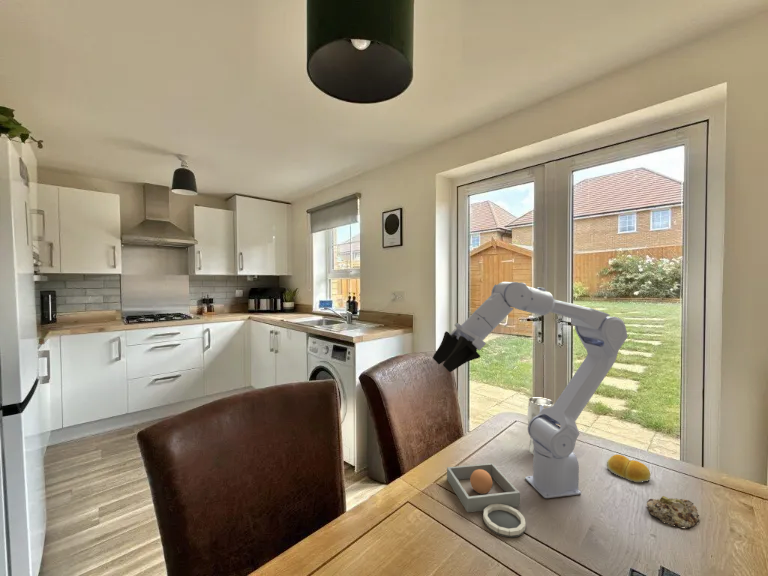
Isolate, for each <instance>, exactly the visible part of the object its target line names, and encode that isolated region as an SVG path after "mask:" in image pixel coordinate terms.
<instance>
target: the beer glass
mask: <svg viewBox="0 0 768 576" xmlns="http://www.w3.org/2000/svg"><path fill="white" fill-rule="evenodd" d="M554 404H555V402H554V401H553V400H551V399H549V398H546V397H539V396H533V397H530V398H528V406H527V425H528V424H529V422H530V420H531V419H532V418H533V417H535V416H537V415H538V414H539V413H540V412H541V410H542V409H545V408H549V407H552V406H553V405H554ZM529 440H530V441H529V445H528V446H529V447H528V452H529V454H531V455H533V451H534V444H533V439H532V438H531V437H530V436H529Z"/></svg>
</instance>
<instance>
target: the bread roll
mask: <svg viewBox="0 0 768 576" xmlns="http://www.w3.org/2000/svg"><path fill="white" fill-rule="evenodd" d="M606 468H607V470H609V471H610V472H611V473H612V474H613V473H614V475H615V474H616V475H615V476H617V475H618V477H619V476H620V478H622V477H623V479H626V480H627V479H628V481H629V480H631V481H630V482H632V481H634V482H633V483H643V482H642V481H648V480H649V481H650V480H651V476H652V475H651V474H652V473H651V471H650V469H649V467H647V465H645V464H644V463H642V462H640V461H637V460H630V459H629V458H628V457H626V456H624V455H622V454H614V455H612V456H611V457H610V458H608V460H607V461H606ZM649 481H648V482H649Z"/></svg>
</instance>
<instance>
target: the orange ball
mask: <svg viewBox="0 0 768 576" xmlns="http://www.w3.org/2000/svg"><path fill="white" fill-rule="evenodd" d="M469 480H470V481H469V482H470V485H471V487H472V489H473V490H474V491H475V492H476V493H478V494H480V495H486V494H488V493H489V492H490V491H491V490H492V489H493V477H492V476H490V474H489V473H488V472H487V471H485V470H482V469H478V470H475V471H474V472H473V473H472V474H471V477H470V478H469Z"/></svg>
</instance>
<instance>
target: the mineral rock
mask: <svg viewBox="0 0 768 576" xmlns="http://www.w3.org/2000/svg"><path fill="white" fill-rule="evenodd" d="M694 504H695V503H694V502H692V501H690V500H689V499H683V498H673V497H670V498H668V497H666V496H664V495H662V496H661V497H660V498H659V499H658V498H657V499H656V498H655V499H654V498H649V499H648V500H647V501H646V507H647V511H648V513H649V512H650V513H649V514H650V515H652V516H654V517H655V518H657V519H658V520H660V521H661V520H662V521H663V522H665V523H669V524H668V525H670V524H671V525H670V526H672V525H675V526H674V527H677V526H679V528H681V527H685V528H687V529H688V528H691V527H694V526H695V525H697V522H699V521H700V518H699V517H700V515H699V514H698V508H697V507H696V506H695V505H694ZM662 521H661V522H662ZM663 522H662V523H663ZM665 523H664V524H665ZM695 523H696V524H695ZM693 525H694V526H693ZM685 528H684V529H685Z"/></svg>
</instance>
